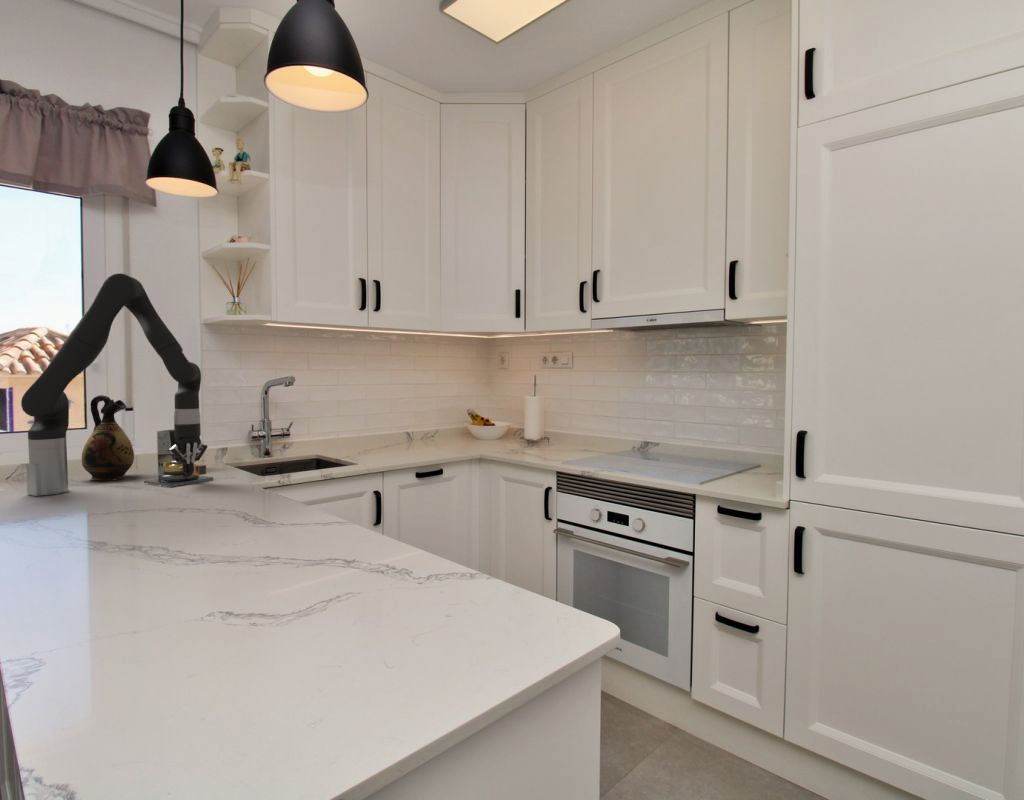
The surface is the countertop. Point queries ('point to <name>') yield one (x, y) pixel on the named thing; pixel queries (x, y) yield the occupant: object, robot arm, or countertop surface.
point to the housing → (177, 479)
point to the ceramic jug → (107, 443)
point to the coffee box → (164, 447)
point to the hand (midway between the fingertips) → (188, 474)
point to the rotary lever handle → (181, 468)
